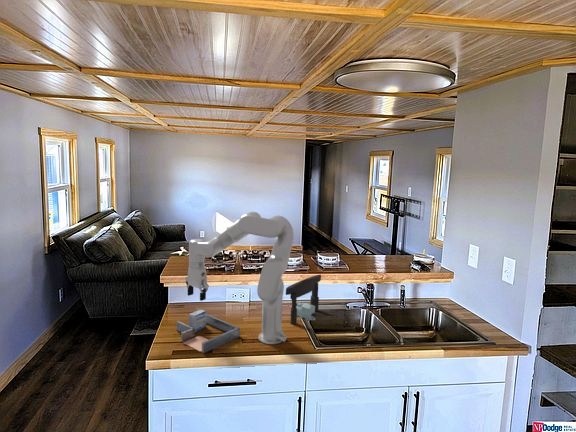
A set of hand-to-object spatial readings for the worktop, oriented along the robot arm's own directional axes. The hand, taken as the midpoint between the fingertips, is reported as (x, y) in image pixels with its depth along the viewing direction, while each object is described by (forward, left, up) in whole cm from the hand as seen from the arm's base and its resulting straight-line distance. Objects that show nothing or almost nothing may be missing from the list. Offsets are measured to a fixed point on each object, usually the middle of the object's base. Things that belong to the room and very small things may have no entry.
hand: (196, 297), depth 201 cm
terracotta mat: (-14, +9, -16) cm, 24 cm away
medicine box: (0, 0, -17) cm, 17 cm away
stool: (-30, -49, -17) cm, 60 cm away
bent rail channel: (-8, +3, -16) cm, 19 cm away
